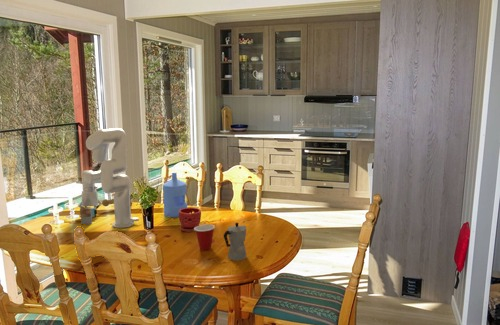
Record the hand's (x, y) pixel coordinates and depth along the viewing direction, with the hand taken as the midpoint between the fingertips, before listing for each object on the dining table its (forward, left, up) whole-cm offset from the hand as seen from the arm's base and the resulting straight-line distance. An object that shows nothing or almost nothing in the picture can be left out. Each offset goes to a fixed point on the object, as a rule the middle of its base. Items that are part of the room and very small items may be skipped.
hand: (91, 215), depth 274 cm
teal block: (0, 0, -1) cm, 1 cm away
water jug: (-54, +15, -1) cm, 56 cm away
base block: (+2, +15, 0) cm, 15 cm away
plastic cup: (-60, +80, -1) cm, 100 cm away
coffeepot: (-72, +97, -1) cm, 121 cm away
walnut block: (+2, +15, +5) cm, 16 cm away
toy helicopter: (-18, -12, -1) cm, 22 cm away
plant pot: (-58, +48, -1) cm, 75 cm away
